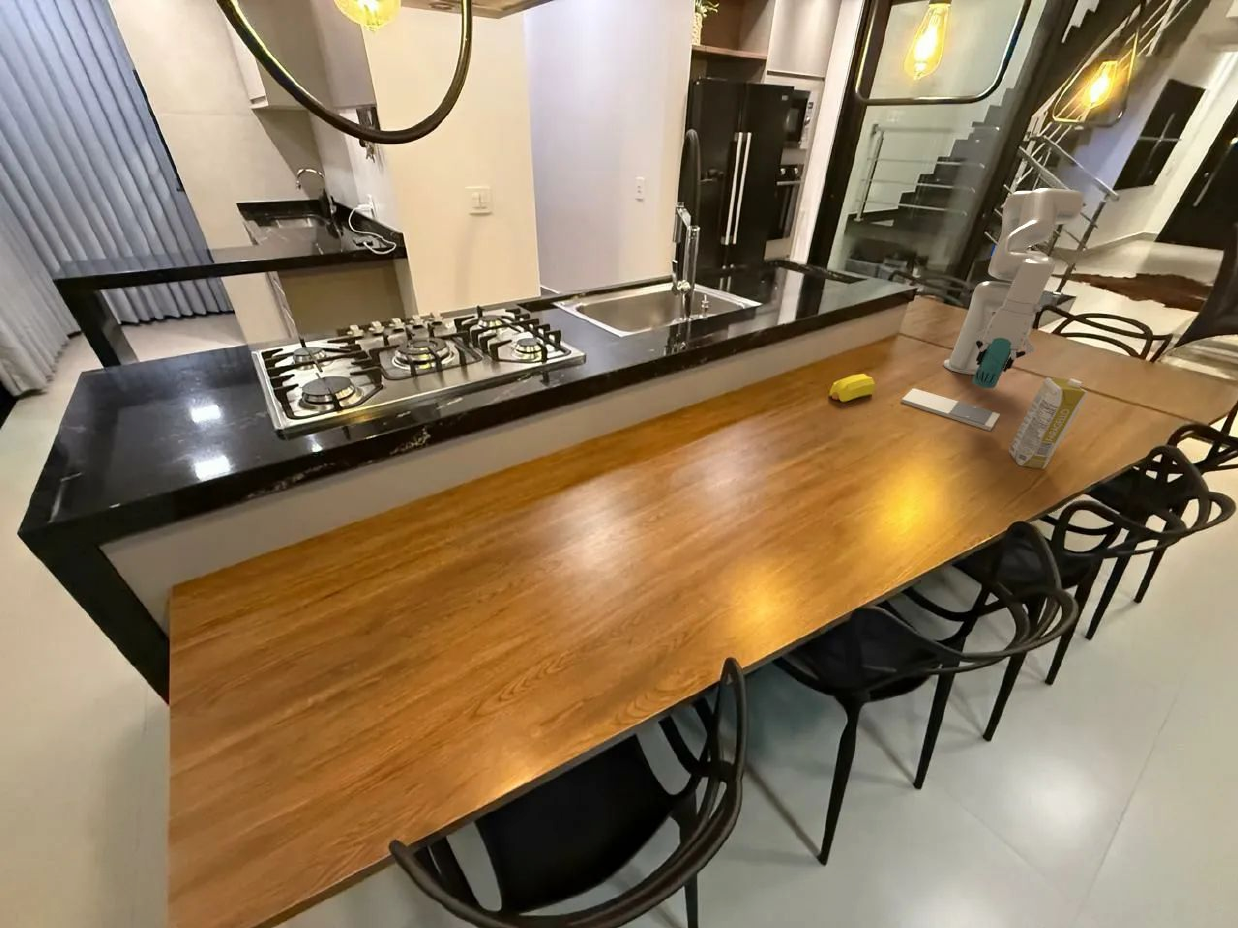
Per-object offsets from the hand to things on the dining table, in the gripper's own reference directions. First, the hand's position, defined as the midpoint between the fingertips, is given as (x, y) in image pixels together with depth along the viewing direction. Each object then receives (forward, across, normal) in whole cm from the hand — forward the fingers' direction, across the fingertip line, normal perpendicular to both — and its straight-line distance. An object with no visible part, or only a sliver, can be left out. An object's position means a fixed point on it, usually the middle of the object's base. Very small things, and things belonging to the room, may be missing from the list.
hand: (991, 366), depth 160 cm
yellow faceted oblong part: (+17, +33, +13) cm, 39 cm away
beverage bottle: (+7, 0, 0) cm, 7 cm away
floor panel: (+17, +6, 0) cm, 18 cm away
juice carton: (+17, -18, +18) cm, 30 cm away
